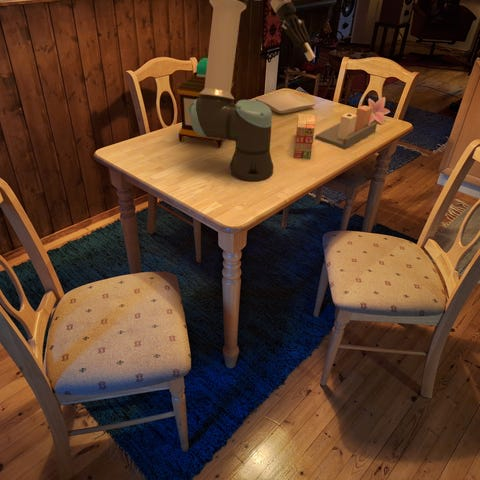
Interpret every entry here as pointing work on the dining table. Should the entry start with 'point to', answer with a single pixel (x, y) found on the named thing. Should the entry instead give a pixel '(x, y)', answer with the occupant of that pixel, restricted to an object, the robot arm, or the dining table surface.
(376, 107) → the lily
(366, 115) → the key two
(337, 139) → the tray
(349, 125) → the key one
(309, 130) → the stack of blocks
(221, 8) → the robot arm
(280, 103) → the salad plate
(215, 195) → the dining table surface
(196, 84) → the decorative lantern
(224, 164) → the dining table surface
